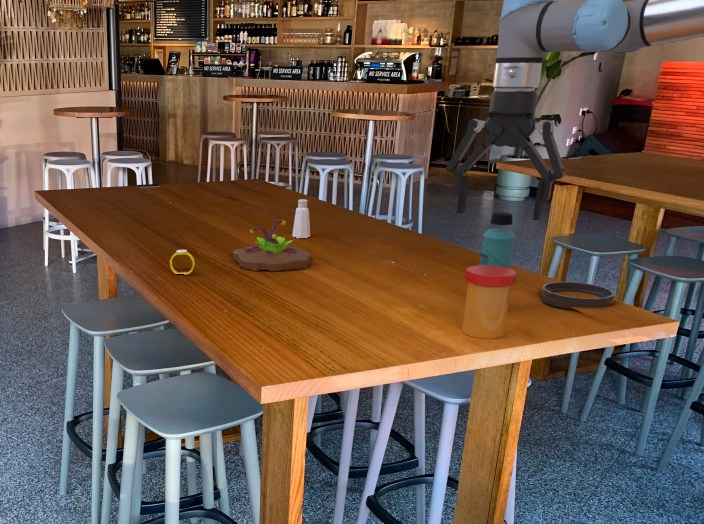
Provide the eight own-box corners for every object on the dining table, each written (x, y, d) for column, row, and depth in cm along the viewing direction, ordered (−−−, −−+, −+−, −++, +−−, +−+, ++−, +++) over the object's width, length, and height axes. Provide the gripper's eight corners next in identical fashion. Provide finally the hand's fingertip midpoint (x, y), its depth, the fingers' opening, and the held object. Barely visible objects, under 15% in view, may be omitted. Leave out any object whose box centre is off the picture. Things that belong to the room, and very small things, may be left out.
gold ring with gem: (195, 273, 196) (195, 249, 194) (193, 276, 193) (193, 252, 191) (171, 272, 197) (171, 249, 194) (169, 275, 194) (169, 251, 192)
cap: (525, 284, 145) (526, 274, 145) (483, 288, 143) (484, 278, 142) (495, 273, 153) (497, 264, 152) (455, 276, 151) (457, 266, 150)
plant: (320, 270, 199) (323, 225, 195) (244, 273, 196) (245, 227, 192) (298, 252, 217) (300, 211, 213) (228, 255, 214) (229, 213, 210)
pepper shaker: (302, 234, 241) (304, 197, 237) (314, 237, 237) (316, 200, 233) (288, 236, 238) (290, 199, 234) (299, 239, 234) (301, 201, 230)
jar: (511, 336, 149) (521, 276, 145) (476, 340, 148) (485, 279, 143) (487, 325, 156) (496, 267, 152) (453, 328, 154) (461, 270, 150)
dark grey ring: (627, 309, 166) (630, 296, 165) (569, 315, 162) (572, 301, 161) (580, 292, 178) (582, 279, 177) (526, 297, 175) (528, 284, 174)
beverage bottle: (488, 302, 171) (501, 209, 164) (512, 310, 166) (527, 214, 158) (465, 306, 169) (478, 211, 161) (489, 314, 163) (503, 216, 156)
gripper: (436, 90, 139) (423, 212, 147) (589, 91, 126) (566, 225, 134) (449, 89, 145) (436, 207, 153) (597, 90, 132) (575, 218, 140)
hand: (497, 215), depth 143 cm, fingers open, 13 cm apart
